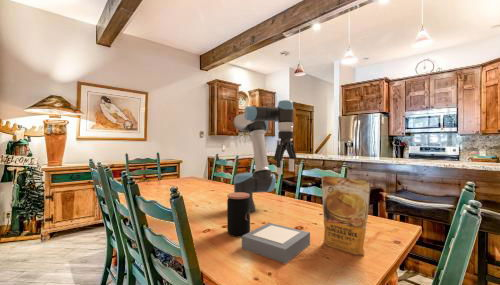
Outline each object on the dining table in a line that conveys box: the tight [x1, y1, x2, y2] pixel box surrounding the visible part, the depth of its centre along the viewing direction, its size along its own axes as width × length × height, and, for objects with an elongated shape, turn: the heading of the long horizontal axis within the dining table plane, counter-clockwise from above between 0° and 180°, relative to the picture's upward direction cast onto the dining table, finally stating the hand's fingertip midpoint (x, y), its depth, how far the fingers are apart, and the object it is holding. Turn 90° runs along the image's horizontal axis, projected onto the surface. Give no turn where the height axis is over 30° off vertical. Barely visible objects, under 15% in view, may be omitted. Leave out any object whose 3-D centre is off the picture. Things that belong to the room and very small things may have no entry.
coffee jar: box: [226, 192, 251, 238], centre depth 112 cm, size 11×11×18 cm
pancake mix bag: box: [320, 175, 372, 256], centre depth 95 cm, size 7×19×28 cm, turn 45°
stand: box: [241, 222, 311, 265], centre depth 96 cm, size 20×20×5 cm
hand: (285, 172), depth 121 cm, fingers open, 13 cm apart
